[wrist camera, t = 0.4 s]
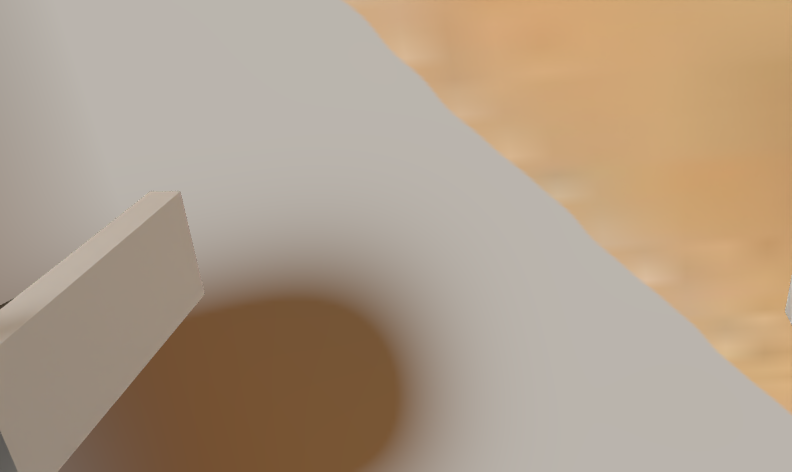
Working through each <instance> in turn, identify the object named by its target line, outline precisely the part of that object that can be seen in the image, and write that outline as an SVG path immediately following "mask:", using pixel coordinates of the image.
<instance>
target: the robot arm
mask: <svg viewBox="0 0 792 472" xmlns="http://www.w3.org/2000/svg"><path fill="white" fill-rule="evenodd" d="M204 294H205V293H204V289H203V285H202V280H201V276H200V272H199V268H198V264H197V259H196V255H195V251H194V247H193V243H192V238H191V234H190V230H189V226H188V222H187V217H186V213H185V209H184V205H183V201H182V196H181V192H180V191H151V192H149V193H148V194H146V195H145V196H144V197H143V198H141V199H140V200H139V201H137V202H136V203H135V204H134V205H132V206H131V207H130V208H129V209H127V210H126V211H125V212H123V213H122V214H121V215H120V216H119V217H117V218H116V219H115V220H113V221H112V222H111V223H109V224H108V225H107V226H106V227H105V228H103V229H102V230H101V231H99V232H98V233H97V234H95V235H94V236H93V237H92V238H91V239H89V240H88V241H87V242H85V243H84V244H83V245H81V246H80V247H79V248H78V249H76V250H75V251H74V252H73V253H71V254H70V255H69V256H68V257H66V258H65V259H64V260H62V261H61V262H60V263H59V264H57V265H56V266H55V267H54V268H52V269H51V270H50V271H48V272H47V273H46V274H45V275H43V276H42V277H41V278H40V279H38V280H37V281H36V282H34V284H32V285H31V286H29V287H28V288H27V289H26V290H24V291H23V292H22V293H21V294H19V295H18V296H17V297H15V298H14V299H12V300H10V301H8V302H6V303H4V304H2V305H0V472H58V471H59V469H60V468H61V467H62V466H63V465H64V463H65V462H66V461H67V460H68V458H69V457H70V456H71V455H72V454H73V452H74V451H75V450H76V449H77V447H78V446H79V445H80V444H81V443H82V441H83V440H84V439H85V438H86V437H87V436H88V434H89V433H90V432H91V430H92V429H93V428H94V427H95V426H96V425H97V423H98V422H99V421H100V420H101V419H102V417H103V416H104V415H105V414H106V413H107V411H108V410H109V409H110V408H111V407H112V405H113V404H114V403H115V402H116V401H117V399H118V398H119V397H120V396H121V395H122V393H123V392H124V391H125V390H126V388H127V387H128V386H129V385H130V383H131V382H132V381H133V380H134V379H135V377H136V376H137V375H138V374H139V373H140V372H141V370H142V369H143V368H144V367H145V366H146V364H147V363H148V362H149V361H150V360H151V358H152V357H153V356H154V355H155V353H156V352H157V351H158V350H159V349H160V347H161V346H162V345H163V344H164V343H165V341H166V340H167V339H168V338H169V337H170V335H171V334H172V333H173V332H174V330H175V329H176V328H177V327H178V326H179V325H180V323H181V322H182V321H183V320H184V318H185V317H186V316H187V315H188V314H189V312H190V311H191V310H192V309H193V308H194V306H195V305H196V304H197V303H198V301H199V300H200V299H201V298H202V297H203V295H204ZM785 313H786V315H787V317H788V319H789V320H790V322H791V324H792V277H791V283H790V288H789V293H788V299H787V304H786V309H785Z"/></svg>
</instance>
